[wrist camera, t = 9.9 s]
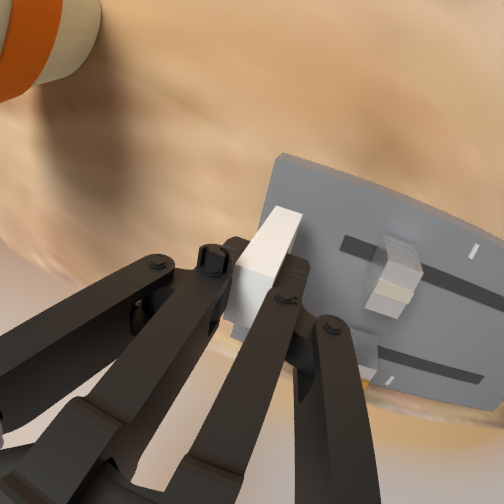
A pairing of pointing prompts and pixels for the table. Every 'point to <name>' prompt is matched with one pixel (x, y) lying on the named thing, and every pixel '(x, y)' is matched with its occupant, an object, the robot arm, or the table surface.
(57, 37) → the reusable coffee cup
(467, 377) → the console
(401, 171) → the table surface
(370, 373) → the fader
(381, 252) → the fader
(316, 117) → the table surface
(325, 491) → the robot arm
